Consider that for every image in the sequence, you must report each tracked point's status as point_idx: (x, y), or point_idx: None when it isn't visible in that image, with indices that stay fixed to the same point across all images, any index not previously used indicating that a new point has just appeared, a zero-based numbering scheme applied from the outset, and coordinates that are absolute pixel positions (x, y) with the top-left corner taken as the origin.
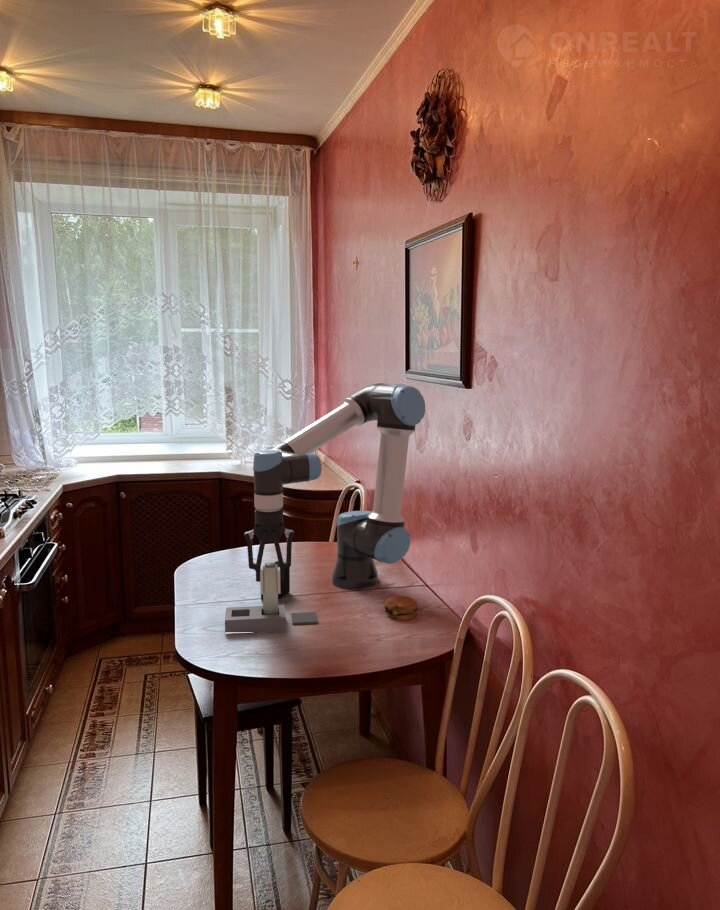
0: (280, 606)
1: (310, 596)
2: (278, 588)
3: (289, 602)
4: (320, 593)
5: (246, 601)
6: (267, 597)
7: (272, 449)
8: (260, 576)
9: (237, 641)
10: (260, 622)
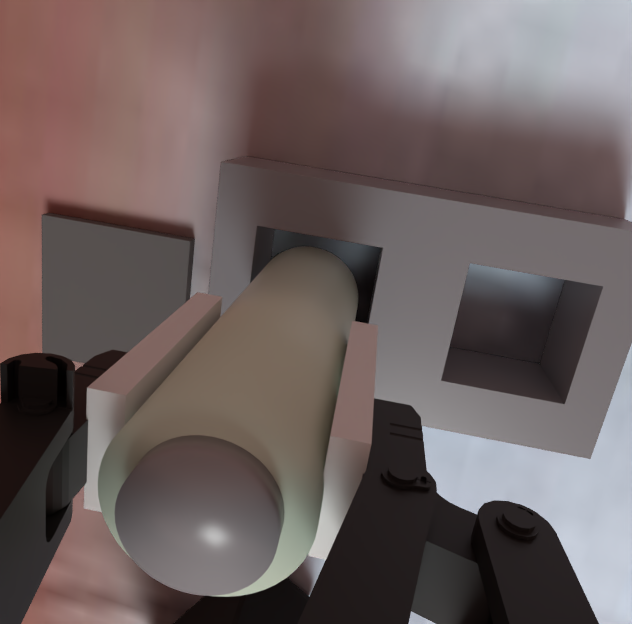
0: None
1: (57, 569)
2: (199, 309)
3: None
4: None
5: None
6: (321, 291)
7: None
8: (370, 405)
9: (575, 89)
10: (402, 188)
